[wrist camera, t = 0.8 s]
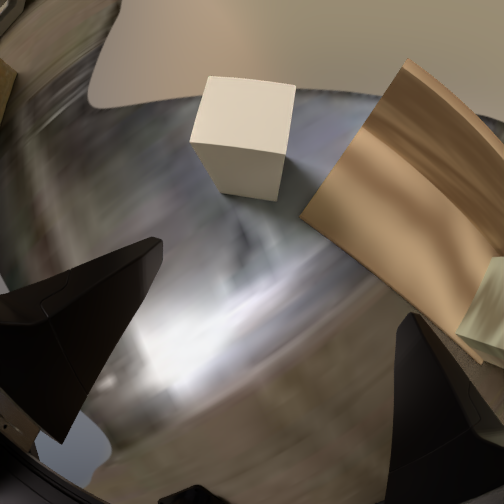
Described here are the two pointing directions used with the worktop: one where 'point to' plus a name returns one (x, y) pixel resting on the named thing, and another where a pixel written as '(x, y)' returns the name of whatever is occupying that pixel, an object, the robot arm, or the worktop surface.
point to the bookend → (244, 134)
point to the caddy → (5, 85)
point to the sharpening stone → (10, 13)
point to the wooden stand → (425, 209)
